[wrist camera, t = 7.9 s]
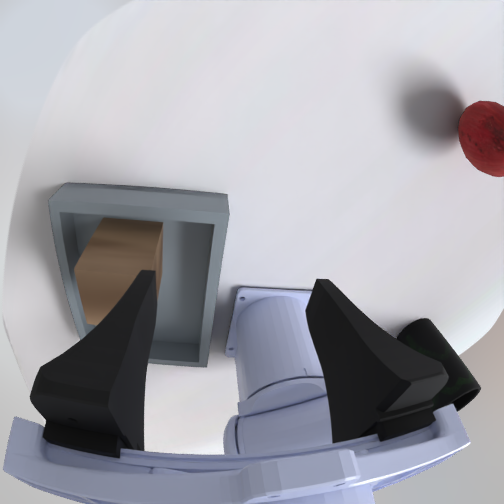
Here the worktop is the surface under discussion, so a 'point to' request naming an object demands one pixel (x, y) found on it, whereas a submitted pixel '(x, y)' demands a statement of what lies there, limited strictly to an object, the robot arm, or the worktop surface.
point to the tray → (173, 265)
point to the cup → (436, 347)
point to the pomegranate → (483, 136)
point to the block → (116, 263)
